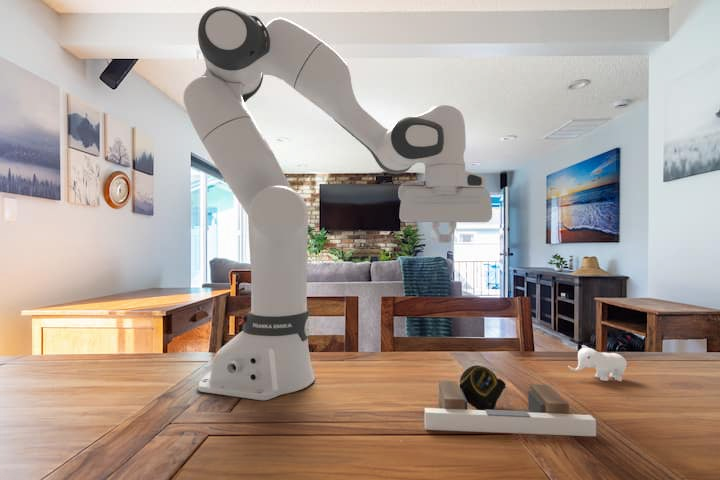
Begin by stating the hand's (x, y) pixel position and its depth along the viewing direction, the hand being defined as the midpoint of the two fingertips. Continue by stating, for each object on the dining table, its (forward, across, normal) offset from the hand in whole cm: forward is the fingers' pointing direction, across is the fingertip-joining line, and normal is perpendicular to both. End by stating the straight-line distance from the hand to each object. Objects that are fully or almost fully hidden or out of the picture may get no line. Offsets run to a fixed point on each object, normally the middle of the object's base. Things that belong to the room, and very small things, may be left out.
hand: (443, 242), depth 81 cm
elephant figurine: (+28, +31, -3) cm, 42 cm away
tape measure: (+28, +5, -19) cm, 35 cm away
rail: (+28, +6, -22) cm, 36 cm away
